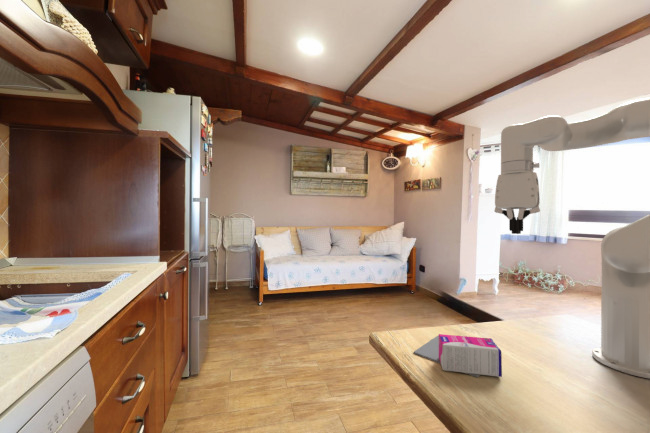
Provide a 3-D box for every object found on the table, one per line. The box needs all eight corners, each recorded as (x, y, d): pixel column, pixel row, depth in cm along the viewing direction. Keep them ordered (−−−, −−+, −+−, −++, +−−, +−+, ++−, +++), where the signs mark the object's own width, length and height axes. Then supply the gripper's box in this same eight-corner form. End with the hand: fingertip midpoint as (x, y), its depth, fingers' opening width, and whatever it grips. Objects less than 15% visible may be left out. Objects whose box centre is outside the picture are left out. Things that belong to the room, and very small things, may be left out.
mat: (496, 355, 68) (496, 353, 68) (477, 377, 58) (477, 375, 58) (438, 336, 78) (438, 335, 78) (413, 353, 68) (413, 351, 68)
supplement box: (501, 349, 57) (442, 345, 60) (502, 377, 57) (443, 372, 60) (491, 336, 63) (437, 333, 65) (492, 362, 63) (438, 358, 65)
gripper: (551, 167, 77) (551, 234, 77) (490, 173, 87) (490, 232, 87) (547, 163, 72) (547, 235, 71) (483, 170, 82) (483, 232, 82)
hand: (516, 233), depth 79 cm, fingers closed
